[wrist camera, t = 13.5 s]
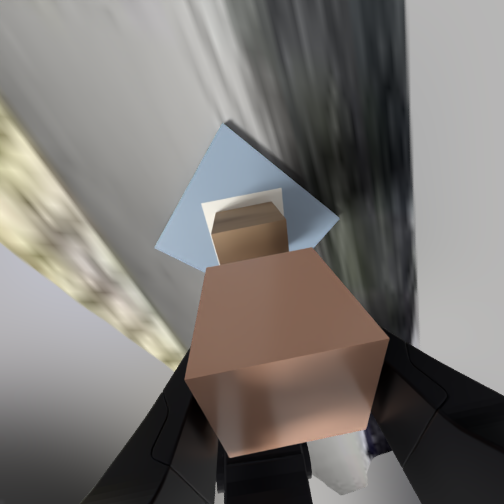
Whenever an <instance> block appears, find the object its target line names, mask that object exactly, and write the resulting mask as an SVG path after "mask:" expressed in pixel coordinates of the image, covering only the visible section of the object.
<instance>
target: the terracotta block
mask: <svg viewBox="0 0 504 504" xmlns="http://www.w3.org/2000/svg"><path fill="white" fill-rule="evenodd" d="M389 339H390V338H389V337H388V336H387V335H386V334H385V332H384V331H383V330H382V329H381V328H380V327H379V325H378V324H377V323H376V322H375V321H374V320H373V318H372V317H371V316H370V315H369V314H368V312H367V311H366V310H365V309H364V308H363V307H362V305H361V304H360V303H359V302H358V301H357V300H356V298H355V297H354V296H353V295H352V294H351V292H350V291H349V290H348V289H347V288H346V287H345V285H344V284H343V283H342V282H341V281H340V280H339V278H338V277H337V276H336V275H335V274H334V273H333V271H332V270H331V269H330V268H329V267H328V265H327V264H326V263H325V262H324V261H323V260H322V258H321V257H320V256H319V255H318V254H317V253H316V251H315V250H314V249H313V248H312V247H310V248H305V249H300V250H295V251H290V252H284V253H279V254H274V255H269V256H264V257H259V258H254V259H248V260H243V261H238V262H233V263H228V264H223V265H218V266H212V267H207V268H206V272H205V277H204V282H203V287H202V292H201V298H200V303H199V308H198V313H197V318H196V323H195V328H194V333H193V338H192V344H191V349H190V354H189V359H188V364H187V369H186V374H185V379H184V380H185V382H186V384H187V385H188V387H189V389H190V390H191V392H192V394H193V396H194V397H195V399H196V401H197V403H198V404H199V406H200V408H201V409H202V411H203V413H204V415H205V416H206V418H207V420H208V421H209V423H210V425H211V427H212V428H213V430H214V432H215V433H216V435H217V437H218V439H219V440H220V442H221V444H222V445H223V447H224V449H225V451H226V452H227V454H228V456H229V457H230V458H232V457H237V456H241V455H246V454H251V453H256V452H261V451H265V450H270V449H275V448H280V447H284V446H289V445H294V444H299V443H303V442H308V441H313V440H318V439H323V438H327V437H332V436H337V435H342V434H346V433H351V432H356V431H361V430H366V427H367V423H368V419H369V415H370V412H371V408H372V404H373V400H374V396H375V392H376V388H377V385H378V381H379V377H380V373H381V369H382V365H383V362H384V358H385V354H386V350H387V346H388V342H389Z"/></svg>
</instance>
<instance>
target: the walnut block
mask: <svg viewBox="0 0 504 504" xmlns="http://www.w3.org/2000/svg"><path fill="white" fill-rule="evenodd" d="M211 236H212V239H213V243H214V246H215V250H216V253H217V256H218V260H219V263H220V265H223V264H228V263H233V262H238V261H243V260H248V259H254V258H259V257H264V256H269V255H274V254H279V253H284V252H289V244H288V234H287V223H286V218H285V217H284V216H283V215H282V214H281V212H280V211H279V210H278V209H277V207H276V206H275V205H274V204H273V203H272V201H271V202H266V203H261V204H256V205H251V206H246V207H241V208H236V209H231V210H226V211H221V212H216V214H215V218H214V223H213V227H212V232H211Z"/></svg>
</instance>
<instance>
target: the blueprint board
mask: <svg viewBox="0 0 504 504" xmlns="http://www.w3.org/2000/svg"><path fill="white" fill-rule="evenodd" d="M271 201H272V203H273V204H274V205H275V206H276V207H277V209H278V210H279V211H280V212H281V214H282V215H283V216H284V217H285V218H286V223H287V234H288V244H289V252H290V251H295V250H300V249H305V248H310V247H312V248H314V247H315V246H316V244H317V243H318V242H319V241H320V240H321V239H322V238H323V237H324V236H325V234H326V233H327V232H328V231H329V230H330V229H331V228H332V227H333V226H334V224H335V223H336V222H337V221H338V220H339V219H340V218H339V217H338V216H337V215H335V214H334V213H333V212H332V211H330V210H329V209H328V208H327V207H326V206H324V205H323V204H322V203H321V202H319V201H318V200H317V199H316V198H314V197H313V196H312V195H311V194H310V193H308V192H307V191H306V190H305V189H303V188H302V187H301V186H300V185H298V184H297V183H296V182H295V181H294V180H292V179H291V178H290V177H289V176H287V175H286V174H285V173H284V172H282V171H281V170H280V169H279V168H278V167H276V166H275V165H274V164H273V163H271V162H270V161H269V160H268V159H266V158H265V157H264V156H263V155H262V154H260V153H259V152H258V151H257V150H255V149H254V148H253V147H252V146H250V145H249V144H248V143H247V142H246V141H244V140H243V139H242V138H241V137H239V136H238V135H237V134H236V133H234V132H233V131H232V130H231V129H230V128H228V127H227V126H226V125H225V124H223V123H222V124H221V126H220V128H219V130H218V132H217V134H216V135H215V137H214V139H213V141H212V143H211V145H210V146H209V148H208V150H207V152H206V154H205V156H204V157H203V159H202V161H201V163H200V165H199V167H198V168H197V170H196V172H195V174H194V176H193V178H192V179H191V181H190V183H189V185H188V187H187V189H186V190H185V192H184V194H183V196H182V198H181V200H180V201H179V203H178V205H177V207H176V209H175V211H174V212H173V214H172V216H171V218H170V220H169V222H168V223H167V225H166V227H165V229H164V231H163V233H162V234H161V236H160V238H159V240H158V242H157V244H156V245H155V247H154V248H155V249H158V250H160V251H162V252H164V253H166V254H168V255H170V256H172V257H174V258H176V259H178V260H180V261H182V262H184V263H186V264H188V265H190V266H192V267H194V268H196V269H198V270H200V271H202V272H204V273H205V272H206V268H207V267H212V266H218V265H220V263H219V260H218V256H217V253H216V250H215V246H214V243H213V239H212V236H211V232H212V227H213V223H214V218H215V214H216V212H221V211H226V210H231V209H236V208H241V207H246V206H251V205H256V204H261V203H266V202H271Z"/></svg>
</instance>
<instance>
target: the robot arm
mask: <svg viewBox="0 0 504 504" xmlns="http://www.w3.org/2000/svg"><path fill="white" fill-rule="evenodd" d="M379 327H380V328H381V329H382V330H383V331H384V332H385V334H386V335H387V336H388V337H389V338H390V339H389V342H388V346H387V350H386V354H385V358H384V362H383V365H382V369H381V373H380V377H379V381H378V385H377V388H376V392H375V396H374V400H373V404H372V408H371V412H372V414H373V416H374V418H375V419H376V421H377V423H378V425H379V427H380V429H381V430H382V432H383V434H384V436H385V438H386V439H387V441H388V443H389V445H390V447H391V449H392V450H393V452H394V454H395V456H396V458H397V460H398V461H399V463H400V465H401V467H402V468H403V471H404V472H405V474H406V476H407V478H408V480H409V482H410V484H411V485H412V487H413V489H414V491H415V493H416V494H417V496H418V498H419V500H420V502H421V504H504V396H503V395H501V394H499V393H498V392H496V391H494V390H492V389H490V388H488V387H486V386H484V385H482V384H480V383H479V382H477V381H475V380H473V379H471V378H469V377H467V376H465V375H463V374H462V373H460V372H458V371H456V370H454V369H452V368H450V367H448V366H447V365H445V364H443V363H441V362H439V361H437V360H436V359H434V358H432V357H430V356H429V355H427V354H425V353H423V352H422V351H420V350H419V349H417V348H415V347H414V346H412V345H410V344H409V343H405V341H404V340H402V339H400V338H399V337H397V336H395V335H394V334H392V333H391V332H389V331H387V330H386V329H384V328H382V327H381V326H379ZM190 349H191V347H190V348H189V350H188V352H187V353H186V355H185V356H184V358H183V359H182V361H181V363H180V364H179V366H178V367H177V369H176V371H175V372H174V374H173V375H172V377H171V378H170V380H169V382H168V383H167V385H166V387H165V388H164V390H163V392H162V393H161V394H160V396H159V397H158V399H157V400H156V402H155V404H154V405H153V407H152V408H151V410H150V411H149V413H148V414H147V416H146V417H145V419H144V420H143V421H142V423H141V424H140V426H139V427H138V428H137V430H136V431H135V433H134V434H133V436H132V437H131V438H130V439H129V441H128V442H127V444H126V445H125V446H124V448H123V449H122V450H121V452H120V453H119V454H118V456H117V457H116V458H115V460H114V461H113V462H112V464H111V465H110V467H109V468H108V469H107V471H106V472H105V473H104V475H103V476H102V477H101V479H100V480H99V481H98V483H97V484H96V485H95V486H94V488H93V489H92V490H91V491H90V493H89V494H88V495H87V496H86V497H85V498H84V499H83V500H82V502H81V503H80V504H214V499H215V483H216V482H217V491H218V493H224V504H313V503H312V497H311V492H310V487H309V481H308V479H310V478H311V476H312V470H311V462H310V456H309V451H308V446H307V443H306V442H303V443H299V444H294V445H289V446H284V447H280V448H275V449H270V450H265V451H261V452H256V453H251V454H246V455H241V456H237V457H232V458H230V457H229V456H228V454H227V452H226V451H225V449H224V447H223V445H222V444H221V442H220V440H219V439H218V437H217V435H216V433H215V432H214V430H213V428H212V427H211V425H210V423H209V421H208V420H207V418H206V416H205V415H204V413H203V411H202V409H201V408H200V406H199V404H198V403H197V401H196V399H195V397H194V396H193V394H192V392H191V390H190V389H189V387H188V385H187V384H186V382H185V380H184V379H185V374H186V369H187V364H188V359H189V354H190Z"/></svg>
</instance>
